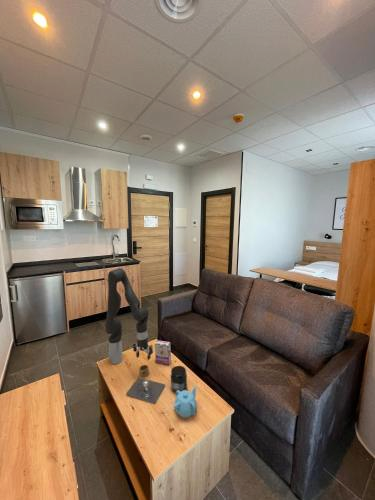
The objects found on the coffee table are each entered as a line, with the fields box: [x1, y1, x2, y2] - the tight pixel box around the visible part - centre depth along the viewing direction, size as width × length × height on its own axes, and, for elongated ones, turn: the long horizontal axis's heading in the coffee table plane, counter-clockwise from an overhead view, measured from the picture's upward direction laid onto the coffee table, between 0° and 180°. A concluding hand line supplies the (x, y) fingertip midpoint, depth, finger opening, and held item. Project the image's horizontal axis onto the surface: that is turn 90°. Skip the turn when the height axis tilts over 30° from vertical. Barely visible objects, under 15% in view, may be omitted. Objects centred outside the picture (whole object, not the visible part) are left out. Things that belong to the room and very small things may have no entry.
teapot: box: [173, 384, 198, 420], centre depth 119 cm, size 13×14×11 cm
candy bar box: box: [154, 339, 172, 366], centre depth 159 cm, size 11×5×16 cm, turn 73°
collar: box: [138, 364, 150, 378], centre depth 149 cm, size 6×6×4 cm
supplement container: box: [170, 365, 188, 393], centre depth 135 cm, size 10×10×12 cm
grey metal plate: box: [125, 376, 166, 405], centre depth 133 cm, size 20×14×6 cm
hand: (143, 358), depth 147 cm, fingers open, 8 cm apart
